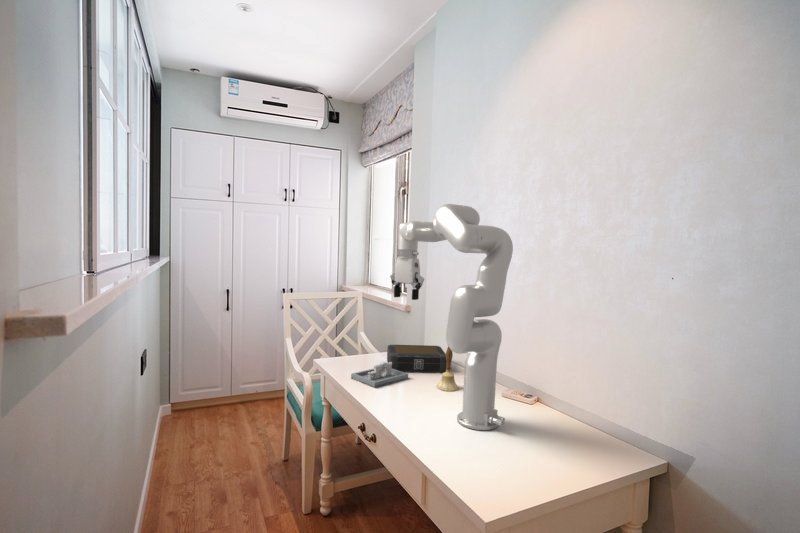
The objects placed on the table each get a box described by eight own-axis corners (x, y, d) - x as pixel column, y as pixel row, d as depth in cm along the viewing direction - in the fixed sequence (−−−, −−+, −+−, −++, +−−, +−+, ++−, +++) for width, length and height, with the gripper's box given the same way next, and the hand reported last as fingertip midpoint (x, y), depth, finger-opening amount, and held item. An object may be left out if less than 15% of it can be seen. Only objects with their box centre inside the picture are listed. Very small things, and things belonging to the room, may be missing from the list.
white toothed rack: (370, 380, 162) (370, 365, 161) (367, 379, 163) (367, 364, 163) (392, 375, 170) (392, 360, 170) (389, 374, 171) (389, 359, 171)
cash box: (388, 373, 175) (389, 355, 175) (386, 360, 195) (387, 344, 195) (447, 374, 177) (448, 356, 177) (439, 361, 197) (440, 345, 197)
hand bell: (462, 390, 157) (464, 348, 156) (442, 392, 153) (444, 349, 153) (451, 383, 164) (453, 343, 164) (432, 385, 161) (434, 344, 161)
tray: (408, 378, 168) (408, 373, 168) (374, 387, 155) (374, 382, 155) (384, 370, 178) (384, 365, 178) (351, 378, 165) (351, 373, 165)
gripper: (430, 255, 159) (429, 300, 160) (398, 254, 171) (397, 295, 172) (417, 255, 154) (415, 301, 154) (385, 253, 166) (383, 296, 166)
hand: (405, 298), depth 163 cm, fingers open, 9 cm apart
